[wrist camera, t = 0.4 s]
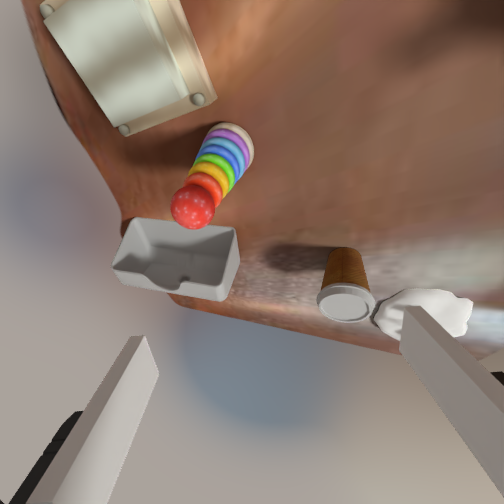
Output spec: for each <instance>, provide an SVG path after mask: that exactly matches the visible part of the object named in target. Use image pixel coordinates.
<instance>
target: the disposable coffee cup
mask: <svg viewBox="0 0 504 504" xmlns="http://www.w3.org/2000/svg"><path fill="white" fill-rule="evenodd" d="M317 304H318V306H319V309H320V311H321V313H322V314H323V315H325V316H326V317H328V318H330V319H332V320H335V321H339V322H346V323H352V322H359V321H363V320H365V319H367V318H368V317H369V316H370V315H371V314H372V311H373V309H374V307H375V300H374V297H373V296H372V295H371V293H370V289H369V285H368V281H367V277H366V273H365V270H364V266H363V262H362V258H361V255H360V253H359V252H358V251H356V250H354V249H351V248H338V249H335V250H334V251H332V252H331V253H330V254H329V257H328V261H327V265H326V270H325V274H324V278H323V282H322V287H321V291H320V293H319V294H318V296H317Z"/></svg>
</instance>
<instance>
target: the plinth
mask: <svg viewBox="0 0 504 504" xmlns="http://www.w3.org/2000/svg"><path fill="white" fill-rule="evenodd" d="M39 6H40V11H41V14H42V15H43V17H44V18H45V20H44V21H43V22H44V23H45V25H46V26H47V28H48V29H49V31H50V32H51V34H52V35H53V37H54V38H55V40H56V41H57V43H58V44H59V46H60V47H61V49H62V50H63V52H64V53H65V55H66V56H67V58H68V59H69V61H70V62H71V64H72V65H73V67H74V68H75V70H76V71H77V73H78V74H79V76H80V77H81V79H82V80H83V82H84V83H85V85H86V86H87V88H88V89H89V90H90V92H91V93H92V95H93V96H94V98H95V99H96V101H97V102H98V104H99V105H100V107H101V108H102V110H103V111H104V113H105V114H106V116H107V117H108V119H109V120H110V122H111V123H112V125H113V126H114V127H117V126H119V132H120V133H121V134H122V135H125V137H127V136H129V135H132V134H134V133H137V132H140V131H142V130H145V129H147V128H150V127H153V126H155V125H158V124H160V123H163V122H165V121H168V120H171V119H173V118H176V117H178V116H181V115H184V114H186V113H189V112H191V111H194V110H196V109H199V108H202V107H204V106H207V105H209V104H211V103H212V102H213V101H214V100H216V99H217V98H218V97H217V95H216V92H215V90H214V87H213V85H212V82H211V80H210V77H209V75H208V72H207V70H206V67H205V65H204V62H203V59H202V57H201V54H200V52H199V49H198V47H197V44H196V42H195V39H194V37H193V34H192V32H191V29H190V27H189V24H188V22H187V19H186V16H185V14H184V11H183V9H182V6H181V4H180V1H179V0H45V1H44V2H43V3H42V4H41V5H39Z"/></svg>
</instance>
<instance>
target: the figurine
mask: <svg viewBox="0 0 504 504" xmlns="http://www.w3.org/2000/svg"><path fill="white" fill-rule="evenodd" d="M412 306H421V307H422V308H423V309H424V310H425V311H426V312H428V313H429V314H430V315H431V316H432V317H433V318H434V319H435V320H436V321H437V322H438V323H439V324H440V325H441V326H442V327H443V328H444V329H445V330H446V331H447V332H448V333H449V334H450V335H451V336H452V337H453V338H454V337H458V336H463V335H465V332H466V330H467V327H468V326H467V324H466V322H467V320H468V319H469V317H470V315H471V313H472V307H473V302H472V301H470V300H469V299H467V298H457V297H456V296H455V295H454V294H452V293H451V292H448V291H444V290H440V289H420V288H413V289H405V290H403V291H401V292H400V293H398V294H396V295H395V296H393V297H392V298H389V299H387V300H385V301H383V303H382V304H381V305H380V307H379V310H378V312H377V313H376V315H375V317H374V319H373V320H374V321H375V322H376V323H377V325H378V326H379V328H380V329H381V331H382V332H384V333H386V334H387V335H389V336H391V337H393V338H395V339H397V340H399V341H400V339H401V331H402V322H403V314H404V307H412Z"/></svg>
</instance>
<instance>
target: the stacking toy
mask: <svg viewBox="0 0 504 504" xmlns="http://www.w3.org/2000/svg"><path fill="white" fill-rule="evenodd" d="M253 157H254V147H253V143H252V140H251V138H250V137H249V135H248V134H247V132H246V131H245V130H244V129H242V128H241V127H239V126H237V125H235V124H232V123H219V124H217V125H215V126H213V127H212V128H211V129H210V130H209V132H208V133H207V135H206V137H205V138H204V140H203V143H202V146H201V148H200V150H199V153H198V154H197V156H196V159H195V162H194V164H193V167H192V168H191V169H190V171H189V173H188V177H187V178H186V180H185V181H184V184H183V188H181V189H179V190H178V191H177V192H176V193H175V194H174V196H173V198H172V200H171V213H172V216H173V218H174V219H175V221H176V222H177V223H178V224H179V225H181V226H182V227H184V228H187V229H192V230H196V229H201V228H203V227H205V226H206V225H208V224H209V223H210V222H211V220H212V218H213V216H214V213H215V208H216V207H217V206H219V204H220V203H221V201H222V199H223V198H224V197H225V196H226V194H227V193H228V192H229V191H230V190H231V189H232V187H233V186H234V184H235V183H236V182H237V181H238V180H239V179H240V178H241V176H242V175H243V173H244V172H245V171H246V169H247V168H248V167H249V166H250V164H251V163H252V160H253Z"/></svg>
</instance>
